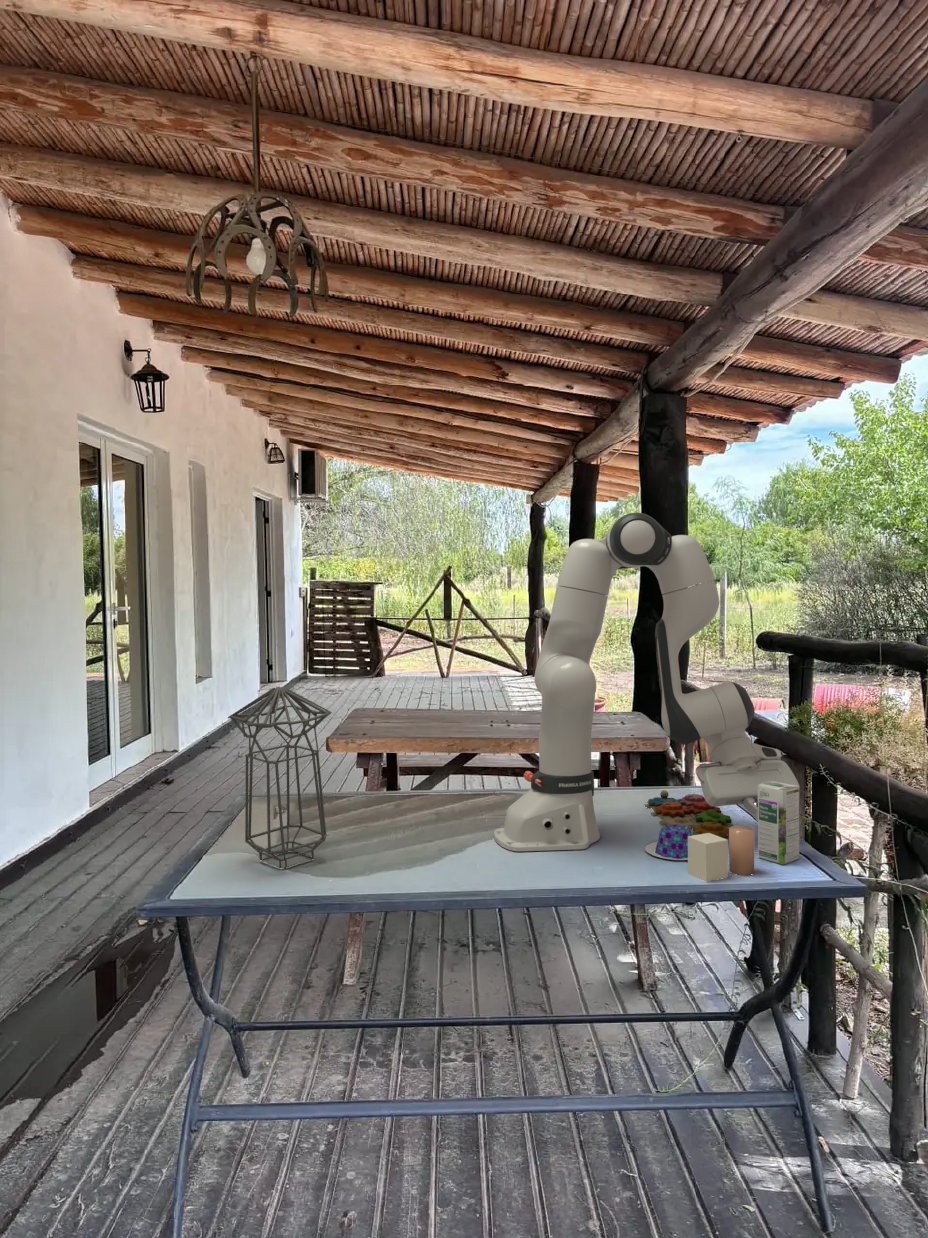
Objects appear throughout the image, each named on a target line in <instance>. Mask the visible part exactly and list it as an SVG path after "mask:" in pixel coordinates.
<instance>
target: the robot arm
mask: <svg viewBox="0 0 928 1238" xmlns="http://www.w3.org/2000/svg"><path fill="white" fill-rule="evenodd" d="M640 567H646V568H648V569H649V570H650V571H652V572H653V573H654V575H655V577H656V579H657V582H658V585H659V589H660V592H661V596H662V600H663V611H662V615H661V618H660V619H659V620H658V621H657V623H656V624H655V632H654V637H655V638H654V639H655V640H654V641H655V652H656V653H655V654H656V663H657V673H658V681H659V682H658V683H659V690H660V703H661V704H660V705H661V713H660V714H661V715H660V716H661V723H662V728H663V730H664V732H665V734H666V737H668V738H669V739H670V740H672V741H674V742H676V743H679V744H681V745H684V746H686V745H689V744H691V743H694V742H697V741H700V740H701V739H703V741H704V742H705V743H706V744H707V745H708V747H709V749H710V756H711V758H712V759H713V762H709V763H706V762H703V763H700V764H699V765H698V766H696V768H695V775H696V777H697V779H698V781H699V782H700V788H701V791H702V794H703V797H704V798H705V800H706V802H707V803H708V804H709V805H710V806H712V807H724V806H735V805H743V807H744V809H745V810H746V811H748V813H750V814H751V815H753V817H754V818H755V820H756V822H757V823H758V805H756V803H757V804H758V785H759V784H761V783H764V782H769V781H775V782H779V783H785V784H790V785H795V786H796V785H797V786H799V790H800V787H801V786H800V784H799V781H798V779H797V778H796V776H795V773H794V772H793V771H792V769H791V768H790V767H789V765H788V764H787V763H786V762H785V761H784V760H781V758H782V753H781V752H780V750H779V749H777V748H773V747H769V746H764V745H761V744H758V743H754V742H753V741H752V740H751V738H750V737H749V736H748V735H747V733H746V729H748V728H749V726H750V725H751V723H752V720H753V718H754V716H755V707H754V704H753V701H752V699H751V697H750V696H749V694H748V691H747V690H746V688H745V687H743V686H742V685H741V684H739V683H737V682H734V681H728V682H726V681H725V682H723V683H722V682H721V683H719V684H714V685H713V686H712V685H711V686H709V687H706V688H702V689H700V690H696V691H692V692H689V693H688V692H687V693H683V692H682V683H681V675H680V673H681V672H680V664H679V653H680V651H681V649H682V647H683V645H684V644H686V642H688V640H689V639H691V638H692V637H693V636H695V635H697V633H699V632H700V631H702V630H703V629H705V627H707V626H708V625H709V624H710V623H711V621H713V619H714V618H715V616H716V615H717V613H718V610H719V607H720V598H719V597H720V595H719V591H718V588H717V584H716V581H715V578H714V574H713V571H712V569H711V566H710V563H709V561H708V559H707V556H706V554H705V552H704V550H703V548H702V546H701V544H700V542H699V541H698V540H697V539H696V538H695V537H693V536H691V535H687V534H677V535H671V534H670V532H668V530H666V529H665V528H664V527H663V526H662V525H661V524H660V523H659V522H658V521H657V520H656V519H655V518H654V517H652V516H650V515H648V514H646V513H642V512H632V513H631V512H630V513H626V514H625V515H622V516H621V517H620V518H618V519H617V520H615V521H614V522H613V524H611V526H610V528H609V529H608V531H606V533H605V534H604V535H603V536H602V538H600V539H594V538H581V539H578V540H576V541H573V542H572V543H571V544H570V546H569V547H568V550H567V552H566V554H565V557H564V560H563V562H562V565H561V569H560V571H559V575H558V579H557V583H556V588H555V593H554V598H553V603H552V608H551V612H550V618H549V622H548V626H547V630H546V632H545V635H544V637H543V642H542V645H541V649H540V651H539V656H538V660H537V663H536V668H535V671H534V684H535V687H536V689H537V691H538V692H539V694H540V695H541V712H540V713H541V715H540V726H539V732H538V754H539V755H538V758H539V759H538V761H539V762H538V766H539V769H538V770H537V771H535V773H533V772H532V771H530V770H526V771H525V772H524V773H523V779H524V780H525V781H527V782H529V783H530V789H529V790H528V791H526V792H525V793H524V794H523V795H521V796H520V797H519V798H518V799H517V800H516V801H515V802H513V803H512V804H510V805H509V806H508V808H507V810H506V811H505V812H506V813H505V817H504V822H503V827H501V828H500V827H499V828H497V829H495V830H494V833H493V838H494V841H495V842H496V843H497V844H498V845H499V846H500V847H502V848H504V849H507V850H509V851H512V852H537V851H538V852H539V851H540V852H541V851H544V852H545V851H566V850H568V851H571V850H572V851H573V850H585V849H587V848H589V846H590V845H592V844H593V843H596V842H597V841H599V840H600V839H601V834H600V832H599V828H598V825H597V818H596V813H595V806H594V798H593V797H594V796H595V795H594V794H595V777H594V770H592V728H593V720H594V714H595V713H594V712H595V704H596V692H597V679H596V676H595V673H594V671H593V669H592V667H591V666H590V661H591V658H592V655H593V652H594V649H595V645H596V644H597V641H598V638H599V637H600V635H601V633H602V628H603V622H604V618H605V614H606V608H607V604H608V603H607V602H608V599H609V594H610V588H611V585H612V584H611V583H612V580H613V577H614V576H615V573H616V572H617V571H618V570H624V569H626V570H627V569H635V568H640Z"/></svg>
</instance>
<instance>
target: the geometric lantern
mask: <svg viewBox="0 0 928 1238" xmlns="http://www.w3.org/2000/svg"><path fill="white" fill-rule="evenodd" d="M280 698H281V700H282V704H283V705H282V706H280V707H278V706H279V702H280ZM286 700H287V701H288V703H289V704H290V705H287V701H286ZM260 701H262V702H260ZM259 702H260V704H258V705H257V707H256V708H254V710H253V711H252V712H250V713H242V712H244V711H245V710H247V709H249V708H251V707H253V706H254V705H256V704H257V703H259ZM294 702H295V703H296V704H297V705H298V706H297V705H296V704H295V703H294ZM269 704H270V705H269ZM268 706H269V708H268V711H267V712H264V710H265V709H266V708H267V707H268ZM309 706H310V707H312V708H313V709H315V710H312V708H310V707H309ZM288 708H292V709H293V710H294V712H295V713H296V715H297V716H298V718H299V719H300V720H295V721H291V717H290V714H289V710H288ZM278 711H280V712H279V713H278V715H277V712H278ZM284 712H285V715H286V721H279V719H280V718H281V716H282V715H283V714H284ZM301 712H303V713H306V715H307V714H308V715H307V718H305V717H304V716H303V714H302V713H301ZM273 714H274V716H273ZM331 714H332V711H330V710H328V709H327V708H325V707H323V706H321V705H319V704H317V703H315V702H313V701H312V700H310V699H308V698H305V696H302V695H300V694H298V693H296V692H295V691H293V690H291V689H290V688H289V689H288V688H287V687H285V686H276V687H272V688H271V689H270V690H268V691H266V692H265V693H262V694H261V695H260V696H258V697H257V698H256V699H254V700H252V701H251V702H249V703H247V704H245V705H244V706H243V707H241V708H239V709H238V710H237V711H235V712H234V713H232V714H231V715H228V717H227V719H230V720H231V721H232V722H233V724H234V725H235V726H236V727H237V728H238V730H240V732H241V733H242V734H243V736H242V737H244V738H248V753H247V754H245V755H244V757H245V806H244V807H245V809H244V811H245V823H244V824H245V828H244V829H245V831H244V833H245V835H244V842H245V843H246V844H248V845H249V846H250V847H252V849H254V851H256V852H257V853H258V855H259V861H260V860H262V858H263V856H266V857H271V858H270V859H274V860H276V861H278V862H279V863H278V864H279V866H278V867H279V868H283V867H282V862H283V861H284V868H286V867H289V866H292V865H295V864H296V863H295V864H291V865H289V866H288V860H289V859H292V858H296V857H299V856H304V855H308V853H311V855H310V856H312V858H311V859H314V860H315V857H314V855H315V854H314V851H315V850H316V849H317V848H318V847H319V846H320V845H322V844H323V842H326V840H327V836H328V835H327V826H326V818H325V815H326V814H325V808H324V807H325V805H324V799H323V798H324V797H323V795H324V794H323V786H322V775H321V764H320V756H319V755H320V754H319V752H320V751H319V744H318V739H317V729H316V728H317V727H318V725H320V724H321V723H322V722H323V721H324V720H325V719H326V718H327V717H329V716H330V715H331ZM276 715H277V716H276ZM311 715H313V716H314V717H311ZM260 716H261V717H263V716H265V719H264V721H263V722H260V721H259V720H260ZM244 717H246V718H244ZM252 717H253V718H252ZM251 718H252V719H251ZM272 718H273V719H272ZM250 719H251V721H250ZM272 720H273V721H272ZM237 721H238V722H239V721H240V722H241V725H240V724H239V723H238V722H237ZM255 721H256V722H255ZM268 721H269V722H268ZM312 721H314V723H313V724H310V722H312ZM297 724H302V729H301V731H300V733H298V734H295V735H294V733H293V728H292V725H297ZM245 725H246V726H247V727H248V728H247V729H248V732H246V729H245ZM282 725H288V726H289V732H290V733H288V732H287V731H285V730H284V729H283V728H282V727H280V726H282ZM251 727H255V731H254V733H253V734H252V729H251ZM307 727H308V728H307ZM270 728H273V729H274V730H275V732H276V733H277V734H278V735H279V736H280V737H281V738H282V739H283V741H284V742H285V743H286V744H284V745H281V746H276V747H270V748H265V749H263V748H262V747H261V745H260V743H259V742H258V739H257V735H258V734H259V733H260V732H262V730H263V729H270ZM306 728H307V729H306ZM312 730H313V731H314V738H315V744H316V749H313V745H312V744H311V741H310V739H309V737H308V734H307V733H309V732H310V731H312ZM248 733H249V734H248ZM282 733H283V734H284V735H285V736H286V737H288V738H289V740H286V738H285V737H284V736H283V735H282ZM302 736H304V738H305V740H306V742H307V745H308V747H309V748H308V747H304V746H300V745H298V744H299V742H300V740H301V738H302ZM251 739H252V741H251ZM293 739H296V741H295V743H294V745H292V744H290V743H291V741H292V740H293ZM255 744H256V747H257V748H258V750H255V751H254V746H255ZM282 748H283V750H282V752H281V753H280V755H279V756H278V758H277V759H276V760H269V759H268V757H267V755H266V754H265V752H267V751H272V750H277V749H282ZM290 749H294V757H290ZM298 749H302V750H305V751H309V752H311V753H309V754H305V755H304V754H303V755H300V756H298ZM285 750H286V758H285V759H284V758H283V759H281V757H282V755H283V754H284V752H285ZM259 753H261V755H262V757H263V758H264V759H262V758H258V757H255V756H254V754H259ZM307 757H311V760H312V767H313V768H312V769H313V777H314V784H315V792H316V801H317V807H318V808H317V809H318V817H319V818H318V819H319V825H320V831H319V830H316V829H314V828H312V827H311V828H310V827H308V826H305V825H303V809H302V799H301V797H302V796H301V787H300V786H301V784H300V773H299V762H298V760H299V759H302V758H307ZM254 760H257V761H260V762H263V763H265V764H266V811H267V812H266V816H267V822H266V823H267V825H266V826H267V830H265V831H262V832H258V833H255V834H252V807H253V806H252V805H253V772H254V771H253V769H254V765H253V764H254ZM292 760H294V761H295V762H294V764H295V765H294V767H295V777H296V790H297V803H298V804H297V805H298V813H299V814H298V817H299V824H290V822H291V821H290V820H291V819H290V816H291V812H290V810H291V808H290V761H292ZM283 762H286V825H284V824H283V823H284V821H283V813H282V812H283V811H282V801H281V786H280V775H279V774H280V773H279V763H283ZM270 764H272V765H274V768H275V781H276V792H277V805H278V816H279V817H278V820H279V827H275V828H273V829H271V789H270V788H271V783H270V781H271V779H270V778H271V777H270ZM289 828H298V829H297V831H296V833H295V835H294V836H293V839H292V840H290V829H289ZM284 829H286V836H287V839H286V840H285V837H284V834H285V833H284ZM301 829H304V830H307V831H310V832H313V833H314V834H317V835H320V836H321V837H320V838H319V839H318V840H315V841H314V840H313V841H311V842H307V843H305V844H304V843H300V842H297V841H296V839H297V837H298V834H299V832H300V830H301ZM278 831H280V840H281V841H280V843H277V844H275V845H272V843H271V840H272V839H271V834H272V833H274V832H278ZM265 835H267V847H266V848H264V847H262V846H260V845H258V844H256V843H255V842H254V840H253V839H254V838H257V837H260V836H265ZM285 844H286V846H285ZM289 844H291V847H289ZM294 844H295V845H294ZM271 845H272V846H271ZM279 846H281V849H278V850H272V849H274V848H277V847H279ZM302 848H309V850H306V851H302V852H300V851H297V850H298V849H302ZM288 851H295V852H298V853H299V854H298V853H295V852H294V853H295V854H293V855H290V856H287V857H286V853H285V852H288ZM281 853H283V854H282V855H283V858H279V857H278V856H275V855H277V854H281ZM302 854H304V855H302ZM262 861H263V860H262Z"/></svg>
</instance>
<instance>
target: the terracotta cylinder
mask: <svg viewBox="0 0 928 1238" xmlns="http://www.w3.org/2000/svg"><path fill="white" fill-rule="evenodd" d="M728 828H729V835H728V872H729V871H730V872H732V873H734V874H737V875H736V876H739V875H751V874H753V873H754V874H755V829H754V828H753V827H750V826H746V825H734V826H732V827H728ZM730 872H729V873H730ZM732 873H731V874H732ZM734 874H733V875H734ZM754 874H753V875H754ZM751 876H752V875H751Z"/></svg>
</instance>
